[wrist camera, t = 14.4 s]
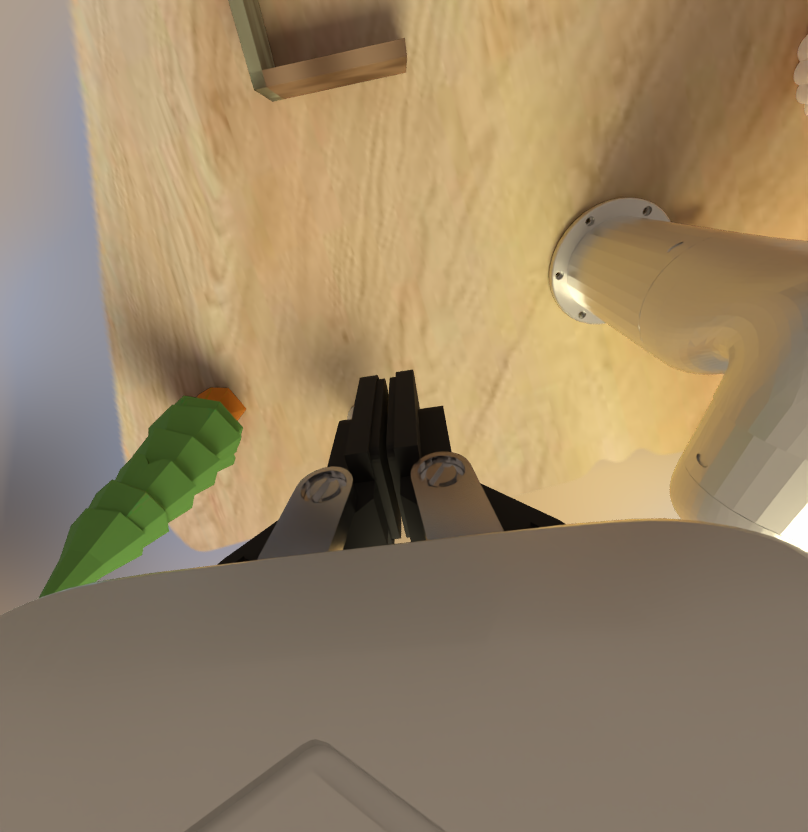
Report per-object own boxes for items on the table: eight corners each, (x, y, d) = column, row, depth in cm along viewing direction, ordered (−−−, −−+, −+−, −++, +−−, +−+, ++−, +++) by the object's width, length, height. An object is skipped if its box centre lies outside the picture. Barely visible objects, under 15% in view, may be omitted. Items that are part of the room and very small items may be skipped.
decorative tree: (177, 374, 48) (-81, 597, 22) (251, 372, 48) (80, 594, 22) (200, 437, 53) (13, 678, 27) (268, 436, 53) (143, 675, 27)
